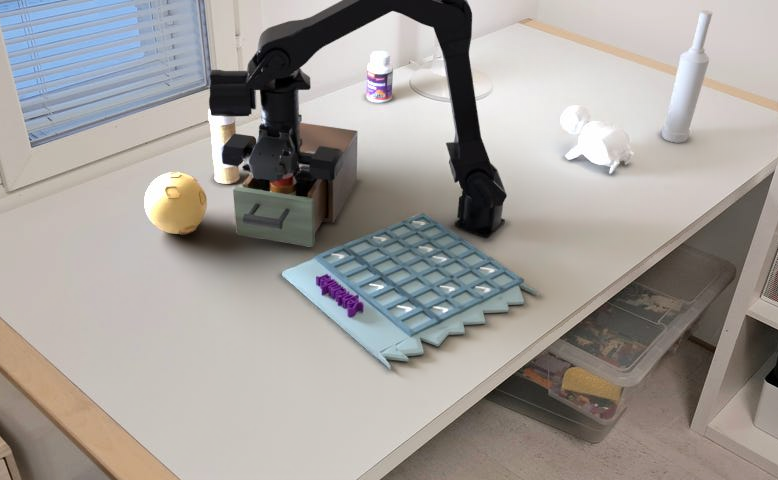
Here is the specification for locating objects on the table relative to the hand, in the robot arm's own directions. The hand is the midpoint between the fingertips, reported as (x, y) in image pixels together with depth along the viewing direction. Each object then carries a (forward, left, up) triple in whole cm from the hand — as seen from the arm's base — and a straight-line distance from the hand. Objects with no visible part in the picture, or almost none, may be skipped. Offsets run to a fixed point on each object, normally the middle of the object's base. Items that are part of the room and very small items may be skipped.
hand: (284, 203), depth 142 cm
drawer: (0, +1, -4) cm, 4 cm away
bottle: (-40, -72, -5) cm, 83 cm away
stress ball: (+14, +11, -5) cm, 18 cm away
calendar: (-25, +1, -5) cm, 26 cm away
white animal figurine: (-30, -54, -5) cm, 63 cm away
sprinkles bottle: (+19, -6, -5) cm, 21 cm away
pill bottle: (+17, -51, -5) cm, 54 cm away
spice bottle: (0, 0, -1) cm, 1 cm away
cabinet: (+4, -10, -5) cm, 12 cm away
